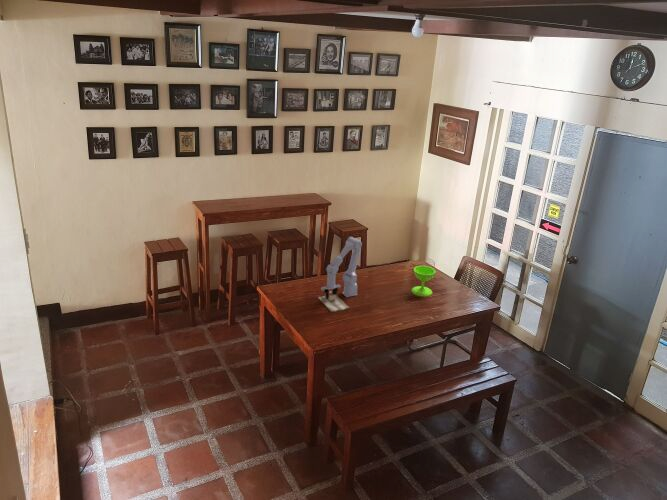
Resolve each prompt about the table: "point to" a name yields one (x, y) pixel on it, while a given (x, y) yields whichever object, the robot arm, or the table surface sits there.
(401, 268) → the table surface
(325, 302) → the birch board
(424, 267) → the wineglass
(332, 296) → the block
